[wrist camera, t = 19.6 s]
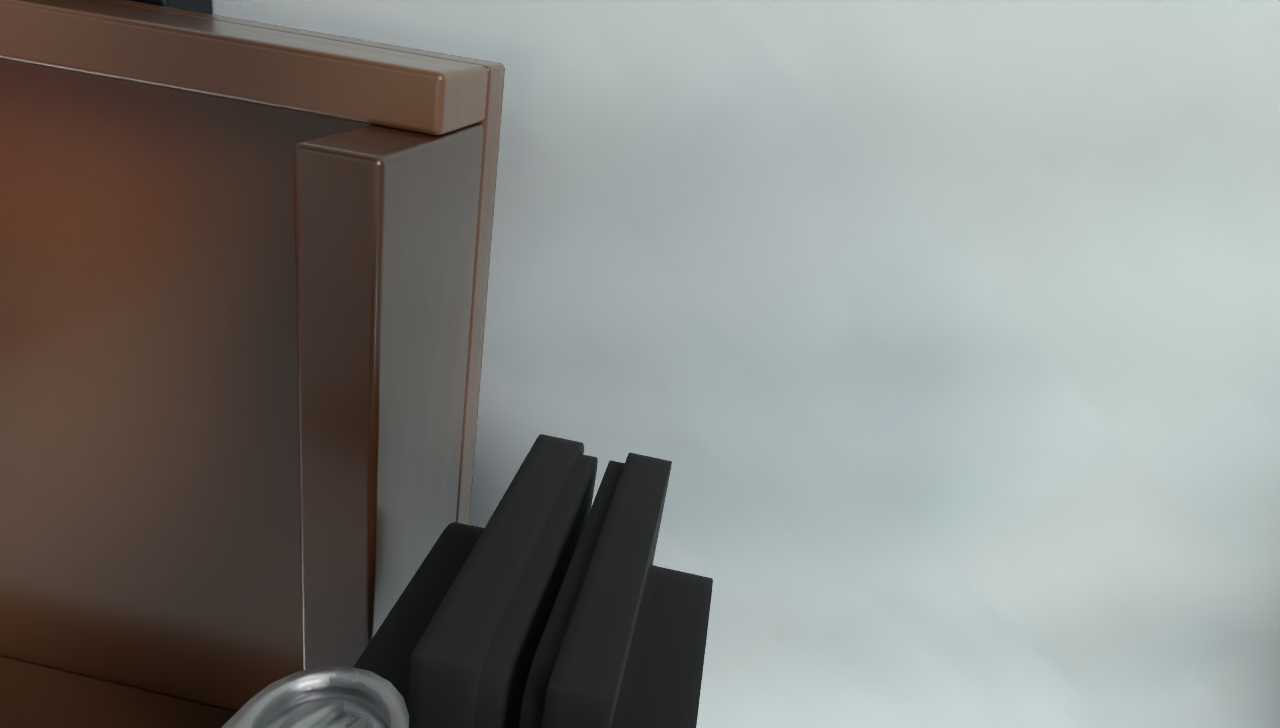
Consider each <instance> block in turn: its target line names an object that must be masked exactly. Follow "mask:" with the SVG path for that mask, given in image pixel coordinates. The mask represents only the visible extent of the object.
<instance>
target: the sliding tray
mask: <svg viewBox="0 0 1280 728" xmlns="http://www.w3.org/2000/svg"><path fill="white" fill-rule="evenodd" d="M504 73H505V68H504V65H502V64H501V63H495V62H489V61H483V60H478V59H472V58H466V57H460V56H454V55H448V54H442V53H436V52H430V51H424V50H418V49H412V48H407V47H401V46H395V45H389V44H383V43H377V42H371V41H365V40H359V39H353V38H347V37H342V36H336V35H330V34H324V33H318V32H312V31H306V30H300V29H294V28H288V27H282V26H277V25H271V24H265V23H259V22H253V21H247V20H241V19H235V18H229V17H223V16H217V15H211V14H206V13H200V12H194V11H188V10H182V9H176V8H170V7H164V6H158V5H152V4H146V3H141V2H135V1H129V0H0V728H221V727H222V726H223V725H224V724H225V723H226V722H227V721H228V720H229V719H230V718H231V717H233V716H234V715H235V714H236V713H237V712H238V711H239V710H240V709H241V708H242V707H243V706H244V705H245V704H246V703H247V702H248V701H249V700H250V699H251V698H253V697H254V696H255V695H256V694H258V693H259V692H260V691H262V690H263V689H264V688H266V687H267V686H268V685H270V684H271V683H273V682H275V681H277V680H280V679H282V678H284V677H286V676H288V675H291V674H293V673H295V672H299V671H303V670H308V669H312V668H316V667H321V666H350V667H354V665H355V664H356V662H357V661H358V659H359V658H360V656H361V655H362V653H363V652H364V650H365V649H366V647H367V646H368V644H369V643H370V641H371V640H372V638H373V637H374V635H375V634H376V632H377V631H378V629H379V628H380V626H381V625H382V623H383V622H384V620H385V619H386V617H387V615H388V614H389V612H390V611H391V609H392V608H393V606H394V605H395V603H396V602H397V600H398V599H399V597H400V596H401V594H402V593H403V591H404V590H405V588H406V587H407V585H408V584H409V582H410V581H411V579H412V578H413V576H414V575H415V573H416V572H417V570H418V569H419V567H420V565H421V564H422V562H423V561H424V559H425V558H426V556H427V555H428V553H429V552H430V550H431V549H432V547H433V546H434V544H435V543H436V541H437V540H438V538H439V537H440V535H441V534H442V532H443V531H444V530H445V528H446V527H447V526H448V525H449V524H450V523H453V522H457V523H462V524H466V525H469V517H470V504H471V492H472V479H473V466H474V454H475V441H476V428H477V416H478V403H479V390H480V377H481V365H482V352H483V339H484V327H485V314H486V301H487V289H488V276H489V263H490V251H491V238H492V225H493V213H494V200H495V187H496V175H497V162H498V149H499V137H500V124H501V111H502V99H503V86H504Z"/></svg>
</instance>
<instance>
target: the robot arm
mask: <svg viewBox="0 0 1280 728" xmlns="http://www.w3.org/2000/svg"><path fill="white" fill-rule="evenodd" d="M583 454H584V445H583V443H581V442H576V441H571V440H566V439H562V438H557V437H552V436H547V435H542V434H540V435H539V436H538V438H537V439H536V441H535V443H534V444H533V446H532V448H531V450H530V451H529V453H528V455H527V457H526V458H525V460H524V462H523V463H522V465H521V467H520V469H519V470H518V472H517V474H516V475H515V477H514V479H513V481H512V482H511V484H510V486H509V488H508V489H507V491H506V493H505V494H504V496H503V498H502V500H501V501H500V503H499V505H498V506H497V508H496V510H495V512H494V513H493V515H492V517H491V518H490V520H489V522H488V524H487V525H486V527H485V529H484V528H480V527H475V526H471V525H466V524H462V523H457V522H453V523H450V524H449V525H448V526H447V527H446V528H445V530H444V531H443V532H442V534H441V535H440V537H439V538H438V540H437V541H436V543H435V544H434V546H433V547H432V549H431V550H430V552H429V553H428V555H427V556H426V558H425V559H424V561H423V562H422V564H421V565H420V567H419V569H418V570H417V572H416V573H415V575H414V576H413V578H412V579H411V581H410V582H409V584H408V585H407V587H406V588H405V590H404V591H403V593H402V594H401V596H400V597H399V599H398V600H397V602H396V603H395V605H394V606H393V608H392V609H391V611H390V612H389V614H388V615H387V617H386V619H385V620H384V622H383V623H382V625H381V626H380V628H379V629H378V631H377V632H376V634H375V635H374V637H373V638H372V640H371V641H370V643H369V644H368V646H367V647H366V649H365V650H364V652H363V653H362V655H361V656H360V658H359V659H358V661H357V662H356V664H355V665H354V667H350V666H321V667H316V668H312V669H308V670H303V671H299V672H295V673H293V674H291V675H288V676H286V677H284V678H282V679H280V680H277V681H275V682H273V683H271V684H270V685H268V686H267V687H266V688H264V689H263V690H262V691H260V692H259V693H258V694H256V695H255V696H254V697H253V698H251V699H250V700H249V701H248V702H247V703H246V704H245V705H244V706H243V707H242V708H241V709H240V710H239V711H238V712H237V713H236V714H235V715H234V716H233V717H231V718H230V719H229V720H228V721H227V722H226V723H225V724H224V725H223V726H222V727H221V728H696V724H697V715H698V706H699V698H700V689H701V680H702V672H703V663H704V654H705V646H706V637H707V628H708V620H709V611H710V602H711V594H712V584H713V580H712V578H707V577H703V576H698V575H694V574H689V573H685V572H680V571H675V570H671V569H666V568H662V567H657V566H653V559H654V554H655V549H656V544H657V538H658V533H659V528H660V522H661V517H662V512H663V507H664V501H665V496H666V491H667V486H668V480H669V475H670V470H671V463H672V461H667V460H662V459H657V458H652V457H648V456H643V455H638V454H633V453H629V454H628V457H627V459H626V462H625V463H620V462H615V461H609V464H608V466H607V469H606V471H605V474H604V477H603V479H602V482H601V484H600V487H599V490H598V492H597V495H596V497H595V500H594V503H593V505H592V508H591V504H592V498H593V491H594V484H595V478H596V471H597V458H596V457H592V456H587V455H583Z"/></svg>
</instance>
